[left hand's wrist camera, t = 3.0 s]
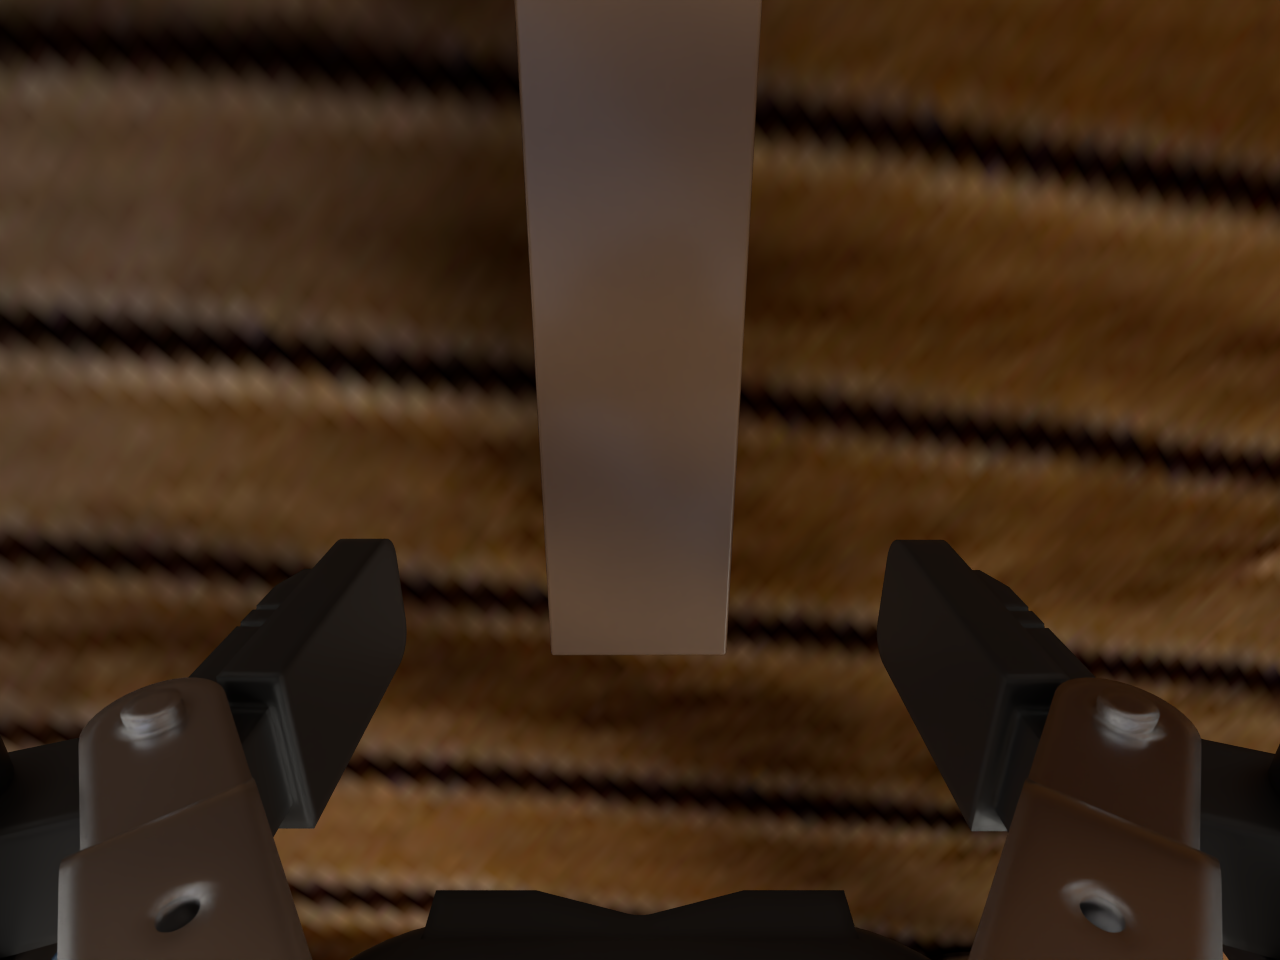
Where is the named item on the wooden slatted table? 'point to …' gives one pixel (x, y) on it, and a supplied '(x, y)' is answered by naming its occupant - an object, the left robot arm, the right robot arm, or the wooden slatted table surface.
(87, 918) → the left robot arm
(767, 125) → the wooden slatted table surface
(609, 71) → the beam
